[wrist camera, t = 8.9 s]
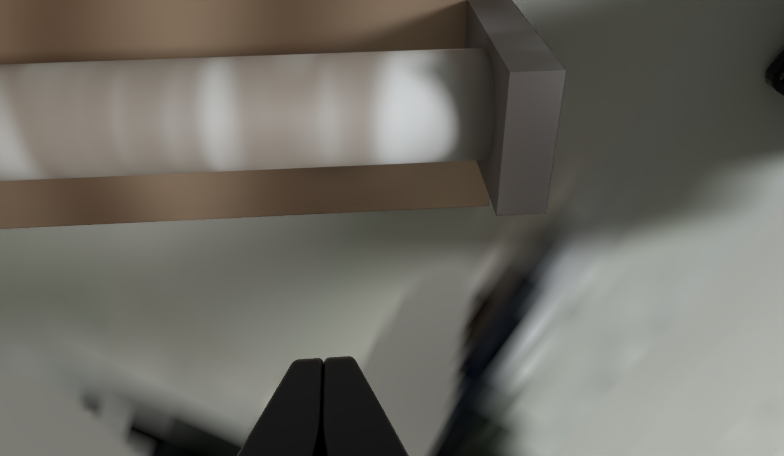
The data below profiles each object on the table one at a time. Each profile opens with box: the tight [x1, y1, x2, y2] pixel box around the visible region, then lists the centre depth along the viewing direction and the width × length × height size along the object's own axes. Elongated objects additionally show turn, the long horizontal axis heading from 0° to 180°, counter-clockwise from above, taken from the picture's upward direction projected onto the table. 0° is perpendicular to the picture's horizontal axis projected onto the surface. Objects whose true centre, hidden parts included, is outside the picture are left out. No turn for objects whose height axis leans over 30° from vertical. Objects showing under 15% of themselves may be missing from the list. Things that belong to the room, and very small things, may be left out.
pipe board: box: [0, 0, 566, 229], centre depth 17 cm, size 24×10×6 cm, turn 91°
